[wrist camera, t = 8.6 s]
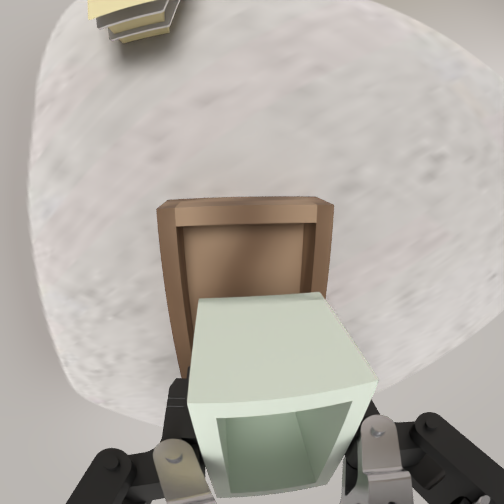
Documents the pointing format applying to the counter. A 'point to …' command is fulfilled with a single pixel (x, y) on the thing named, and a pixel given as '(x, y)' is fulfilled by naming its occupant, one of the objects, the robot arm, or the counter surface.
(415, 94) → the counter surface
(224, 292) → the big crate
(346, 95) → the counter surface
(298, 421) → the box
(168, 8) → the stacked layers on plate
